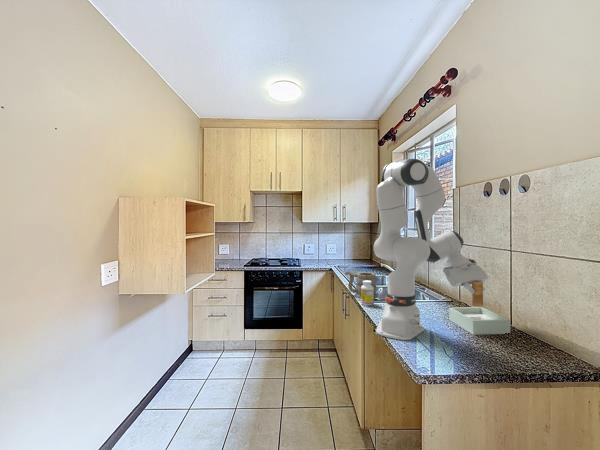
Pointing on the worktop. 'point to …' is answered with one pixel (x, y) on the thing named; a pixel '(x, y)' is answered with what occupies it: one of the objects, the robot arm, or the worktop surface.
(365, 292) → the supplement bottle
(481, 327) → the bore box
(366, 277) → the tankard
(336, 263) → the worktop surface
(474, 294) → the peg
